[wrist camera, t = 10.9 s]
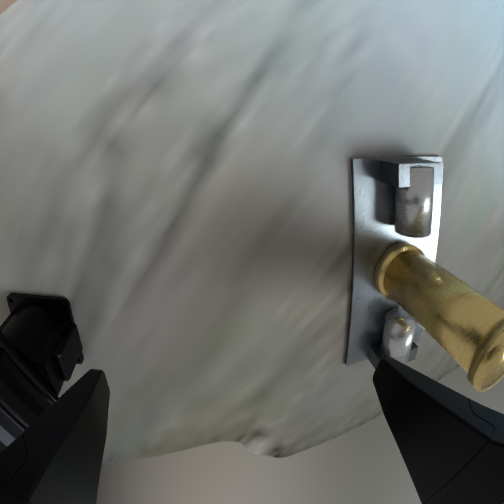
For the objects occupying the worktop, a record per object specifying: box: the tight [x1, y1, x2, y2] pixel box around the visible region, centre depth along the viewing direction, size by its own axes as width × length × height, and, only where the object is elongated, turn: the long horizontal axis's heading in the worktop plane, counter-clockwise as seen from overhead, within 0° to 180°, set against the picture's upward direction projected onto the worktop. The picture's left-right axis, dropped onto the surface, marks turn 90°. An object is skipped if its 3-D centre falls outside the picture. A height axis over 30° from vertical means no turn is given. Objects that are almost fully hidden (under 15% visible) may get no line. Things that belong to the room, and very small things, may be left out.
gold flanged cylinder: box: [374, 242, 504, 393], centre depth 18 cm, size 5×5×13 cm
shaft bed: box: [345, 156, 443, 369], centre depth 22 cm, size 19×9×3 cm, turn 6°
